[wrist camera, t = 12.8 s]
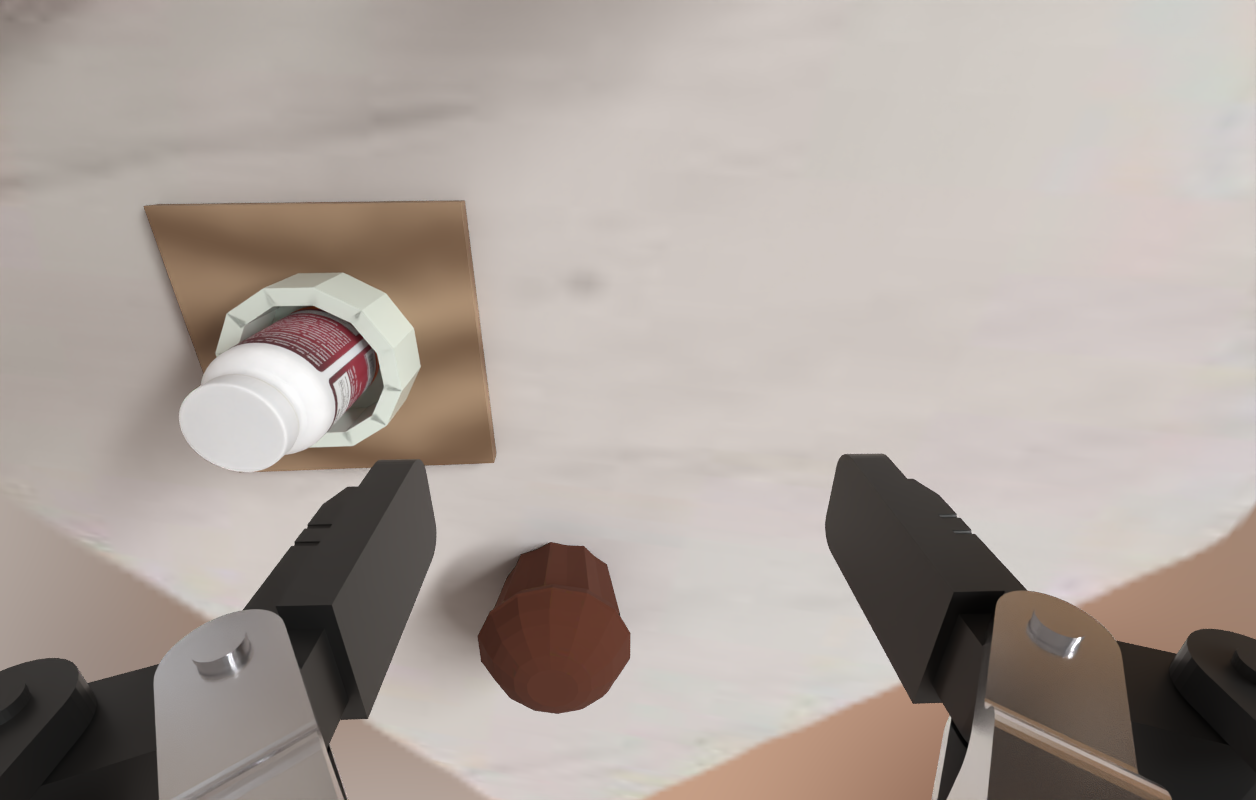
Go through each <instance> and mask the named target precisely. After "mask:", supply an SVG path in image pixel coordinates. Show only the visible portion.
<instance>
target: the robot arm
mask: <svg viewBox="0 0 1256 800" xmlns="http://www.w3.org/2000/svg"><path fill="white" fill-rule="evenodd" d="M825 531H826V538H827V543H828V546H829V549H830V551H831V553H832V555H833V557H834V559H835V560H836V562H837V564H838V566H839V568H840V570H841V572H842V573H843V575H844V577H845V579H846V581H847V583H848V585H849V586H850V588H851V590H852V592H853V594H854V596H855V597H856V599H857V601H858V603H859V605H860V607H861V609H862V610H863V612H864V614H865V616H866V618H867V620H868V621H869V623H870V625H871V627H872V629H873V631H874V633H875V634H876V636H877V638H878V640H879V642H880V644H881V646H882V647H883V649H884V651H885V653H886V655H887V657H888V658H889V660H890V662H891V664H892V666H893V668H894V670H895V671H896V673H897V675H898V677H899V679H900V681H901V682H902V684H903V686H904V688H905V690H906V691H907V693H908V695H909V697H910V699H911V701H912V703H913V704H917V703H943V705H944V706H945V708H946V710H947V711H948V713H949V715H950V716H949V718H948V721H947V723H946V726H945V729H944V735H943V740H942V745H941V751H940V757H939V762H938V767H937V773H936V779H935V784H934V789H933V795H932V800H1256V640H1255V639H1253V638H1250V637H1247V636H1244V635H1241V634H1237V633H1234V632H1230V631H1224V630H1218V629H1201V630H1197V631H1194V632H1193V633H1191V634H1190V635H1189V637H1188V638H1187V640H1186V641H1185V643H1184V644H1183V646H1182V647H1181V649H1180V650H1179V652H1178V653H1177V654H1175V653H1171V652H1166V651H1161V650H1157V649H1152V648H1148V647H1143V646H1138V645H1134V644H1129V643H1125V642H1120V641H1116V640H1115V639H1114V637H1113V636H1112V635H1111V634H1110V632H1109V631H1108V630H1107V629H1106V628H1105V627H1104V626H1103V625H1102V624H1100V623H1099V622H1098V621H1097V620H1096V619H1094V618H1093V617H1092V616H1090V615H1089V614H1087V613H1086V612H1084V611H1083V610H1081V609H1079V608H1078V607H1076V606H1074V605H1072V604H1070V603H1068V602H1066V601H1064V600H1061V599H1059V598H1056V597H1053V596H1050V595H1047V594H1043V593H1039V592H1033V591H1027V590H1026V589H1025V587H1024V586H1023V585H1022V584H1021V583H1020V582H1019V581H1018V580H1017V579H1016V578H1015V577H1014V576H1013V574H1012V573H1011V572H1010V571H1009V570H1008V569H1007V568H1006V567H1005V566H1004V565H1003V564H1002V563H1001V561H1000V560H999V559H998V558H997V557H996V556H995V555H994V554H993V553H992V552H991V551H990V550H989V549H988V547H987V546H986V545H985V544H984V543H983V542H982V541H981V540H980V539H979V538H978V537H977V536H976V534H972V533H971V529H970V528H969V527H968V526H967V525H966V524H965V523H964V521H963V520H962V519H961V518H957V516H956V513H955V512H954V511H953V510H952V509H951V507H950V506H949V505H948V504H947V503H946V502H945V501H944V500H943V499H942V498H941V497H940V496H939V495H938V494H937V493H935V492H933V491H932V490H930V489H929V488H927V487H925V486H924V485H922V484H921V483H919V482H917V481H916V480H914V479H907V478H906V477H905V476H904V475H903V473H902V472H901V471H900V470H899V469H898V468H897V467H896V465H895V464H894V463H893V462H892V461H891V460H890V459H889V458H888V457H887V456H886V455H884V454H844V455H842V456H841V457H840V459H839V461H838V463H837V467H836V472H835V477H834V481H833V486H832V491H831V496H830V501H829V505H828V510H827V515H826V522H825ZM435 545H436V523H435V518H434V512H433V507H432V501H431V496H430V491H429V485H428V480H427V474H426V469H425V466H424V464H423V462H422V461H421V460H420V459H400V460H378V461H376V462H375V464H374V465H373V466H372V468H371V469H370V471H369V472H368V474H367V475H366V476H365V478H364V479H363V481H362V482H361V484H360V485H359V487H347V488H345V489H344V490H342V491H341V492H340V493H338V494H337V495H335V496H334V497H333V498H331V499H330V500H328V501H327V502H326V503H324V504H323V505H322V506H321V508H320V509H319V510H318V512H317V513H316V514H315V515H314V517H313V518H312V519H311V521H310V522H309V523H308V528H307V529H304V530H303V531H302V533H301V534H300V535H299V537H298V538H297V539H296V541H295V545H294V546H291V547H290V548H289V550H288V551H287V552H286V554H285V555H284V556H283V558H282V559H281V560H280V562H279V563H278V564H277V566H276V567H275V568H274V570H273V571H272V572H271V574H270V575H269V576H268V578H267V579H266V580H265V582H264V583H263V584H262V585H261V587H260V588H259V589H258V591H257V592H256V593H255V595H254V596H253V597H252V599H251V600H250V601H249V603H248V604H247V605H246V607H245V608H244V609H243V611H237V612H233V613H230V614H226V615H224V616H221V617H218V618H216V619H214V620H212V621H209V622H207V623H205V624H203V625H202V626H200V627H198V628H197V629H195V630H193V631H192V632H190V633H189V634H188V635H186V636H185V637H184V638H182V639H181V640H180V641H179V642H177V643H176V644H175V645H174V646H173V647H172V648H171V649H170V650H169V651H168V653H167V654H166V655H165V656H164V658H163V659H162V660H161V662H160V664H157V665H154V666H150V667H147V668H143V669H139V670H135V671H131V672H128V673H124V674H120V675H117V676H113V677H109V678H105V679H102V680H98V681H94V682H90V683H87V682H86V680H85V679H84V677H83V676H82V674H81V673H80V671H79V670H78V668H77V666H75V664H74V663H73V662H70V661H68V660H66V659H59V658H46V659H39V660H34V661H30V662H25V663H22V664H19V665H16V666H13V667H10V668H7V669H5V670H2V671H0V800H348V797H347V794H346V791H345V788H344V785H343V782H342V779H341V776H340V773H339V770H338V767H337V764H336V761H335V758H334V755H333V752H332V749H331V746H330V744H329V743H330V741H331V739H332V737H333V734H334V732H335V730H336V728H337V725H338V723H339V721H340V720H348V719H368V717H369V715H370V712H371V710H372V707H373V705H374V702H375V700H376V697H377V695H378V692H379V690H380V687H381V685H382V682H383V680H384V677H385V675H386V672H387V670H388V668H389V665H390V663H391V660H392V658H393V655H394V653H395V650H396V648H397V645H398V643H399V640H400V638H401V635H402V633H403V630H404V628H405V625H406V623H407V620H408V618H409V615H410V613H411V611H412V608H413V606H414V603H415V601H416V598H417V596H418V593H419V591H420V588H421V586H422V583H423V581H424V578H425V576H426V573H427V571H428V568H429V566H430V563H431V561H432V558H433V555H434V551H435Z"/></svg>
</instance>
